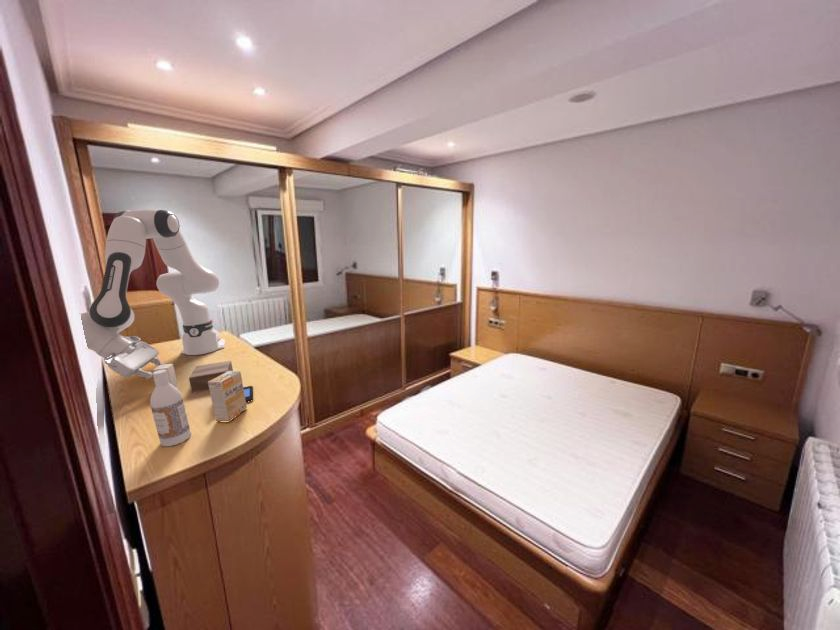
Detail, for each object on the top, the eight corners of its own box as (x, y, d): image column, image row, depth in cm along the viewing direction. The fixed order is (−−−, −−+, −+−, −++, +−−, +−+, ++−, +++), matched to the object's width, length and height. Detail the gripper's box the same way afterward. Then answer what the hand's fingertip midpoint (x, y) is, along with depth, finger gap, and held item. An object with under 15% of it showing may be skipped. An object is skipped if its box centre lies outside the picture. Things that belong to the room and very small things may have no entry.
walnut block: (199, 380, 134) (196, 366, 133) (233, 374, 139) (231, 360, 137) (192, 393, 124) (188, 377, 122) (229, 386, 128) (226, 371, 126)
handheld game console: (253, 402, 114) (249, 381, 113) (216, 410, 110) (211, 389, 108) (253, 387, 126) (250, 368, 124) (219, 395, 121) (215, 375, 119)
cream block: (164, 387, 129) (158, 365, 127) (178, 385, 130) (172, 363, 128) (159, 393, 125) (153, 369, 123) (173, 391, 126) (167, 367, 124)
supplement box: (229, 423, 102) (221, 382, 99) (215, 422, 103) (206, 381, 100) (248, 409, 110) (241, 370, 106) (235, 408, 110) (227, 370, 107)
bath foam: (154, 446, 92) (135, 377, 87) (175, 431, 99) (159, 366, 94) (176, 448, 91) (159, 377, 86) (197, 433, 97) (181, 366, 93)
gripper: (107, 352, 111) (149, 376, 115) (139, 335, 130) (174, 355, 134) (94, 367, 110) (137, 390, 115) (128, 347, 130) (164, 368, 134)
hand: (157, 371), depth 125 cm, fingers open, 8 cm apart
